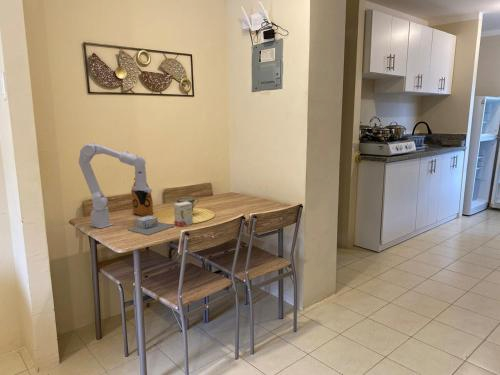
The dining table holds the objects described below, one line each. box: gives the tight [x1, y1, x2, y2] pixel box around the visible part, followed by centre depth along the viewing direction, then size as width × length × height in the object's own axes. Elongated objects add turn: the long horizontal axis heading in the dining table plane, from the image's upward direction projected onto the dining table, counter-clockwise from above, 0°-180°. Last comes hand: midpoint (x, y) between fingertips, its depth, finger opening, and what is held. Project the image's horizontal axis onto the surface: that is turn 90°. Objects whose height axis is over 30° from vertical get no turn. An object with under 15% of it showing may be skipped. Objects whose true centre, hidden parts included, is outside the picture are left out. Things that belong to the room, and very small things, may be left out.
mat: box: [127, 221, 176, 236], centre depth 192 cm, size 16×18×1 cm
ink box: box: [173, 201, 194, 228], centre depth 197 cm, size 9×5×12 cm, turn 135°
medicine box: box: [135, 215, 159, 229], centre depth 195 cm, size 8×4×9 cm
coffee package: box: [130, 177, 154, 217], centre depth 220 cm, size 10×12×22 cm
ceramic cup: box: [176, 196, 200, 215], centre depth 217 cm, size 13×10×10 cm
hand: (142, 204), depth 201 cm, fingers closed
